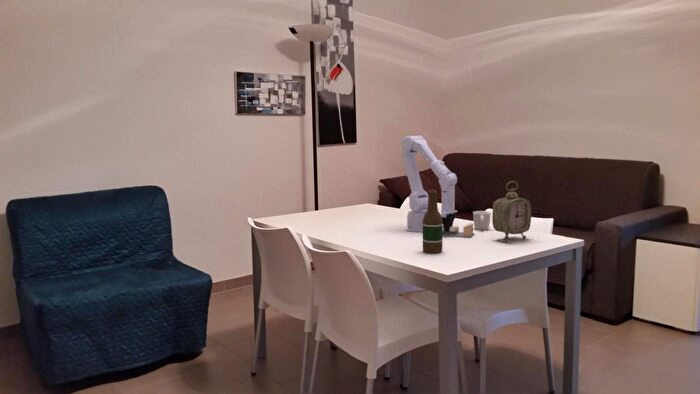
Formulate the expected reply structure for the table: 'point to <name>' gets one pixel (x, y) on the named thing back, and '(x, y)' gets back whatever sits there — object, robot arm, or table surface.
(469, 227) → the board
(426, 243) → the beer bottle
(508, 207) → the tabletop clock
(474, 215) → the cup
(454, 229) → the tube
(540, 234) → the table surface
